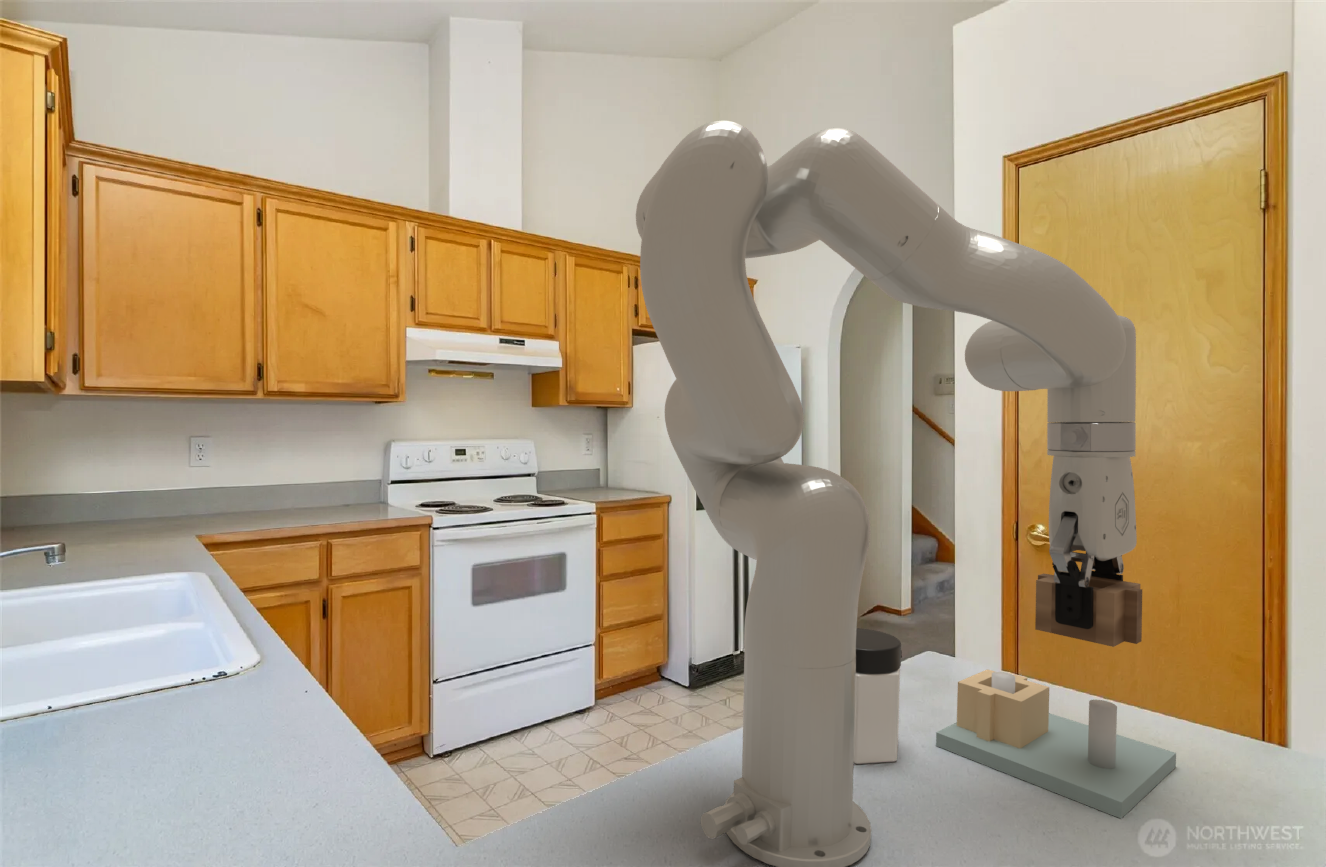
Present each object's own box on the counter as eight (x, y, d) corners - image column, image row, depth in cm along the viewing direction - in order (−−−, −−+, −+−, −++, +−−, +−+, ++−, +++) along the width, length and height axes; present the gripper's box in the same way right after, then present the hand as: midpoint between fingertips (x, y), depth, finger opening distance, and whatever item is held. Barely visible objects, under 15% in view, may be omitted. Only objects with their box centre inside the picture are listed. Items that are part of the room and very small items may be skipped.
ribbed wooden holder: (1125, 649, 64) (1126, 595, 64) (1025, 627, 71) (1025, 578, 71) (1151, 636, 69) (1152, 585, 69) (1054, 616, 76) (1054, 570, 76)
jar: (917, 751, 76) (920, 641, 76) (874, 773, 71) (876, 656, 70) (848, 723, 83) (850, 622, 83) (804, 741, 78) (806, 634, 77)
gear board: (1121, 818, 63) (1123, 736, 63) (936, 745, 77) (937, 678, 77) (1175, 767, 73) (1177, 696, 73) (1003, 710, 87) (1004, 651, 87)
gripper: (1098, 444, 61) (1098, 645, 61) (1162, 439, 72) (1162, 610, 72) (1011, 443, 67) (1011, 626, 67) (1083, 438, 78) (1082, 596, 78)
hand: (1089, 616), depth 70 cm, fingers closed on ribbed wooden holder, 7 cm apart
